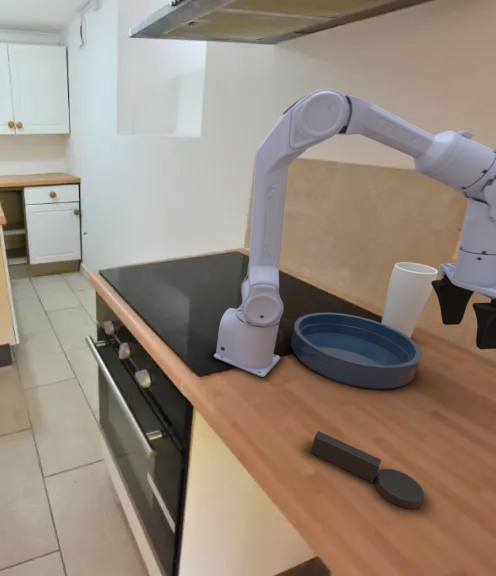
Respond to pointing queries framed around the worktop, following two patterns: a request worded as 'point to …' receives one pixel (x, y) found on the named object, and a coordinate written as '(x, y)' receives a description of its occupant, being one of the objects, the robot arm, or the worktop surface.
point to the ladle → (369, 471)
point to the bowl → (355, 350)
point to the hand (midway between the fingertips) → (467, 335)
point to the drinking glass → (407, 295)
